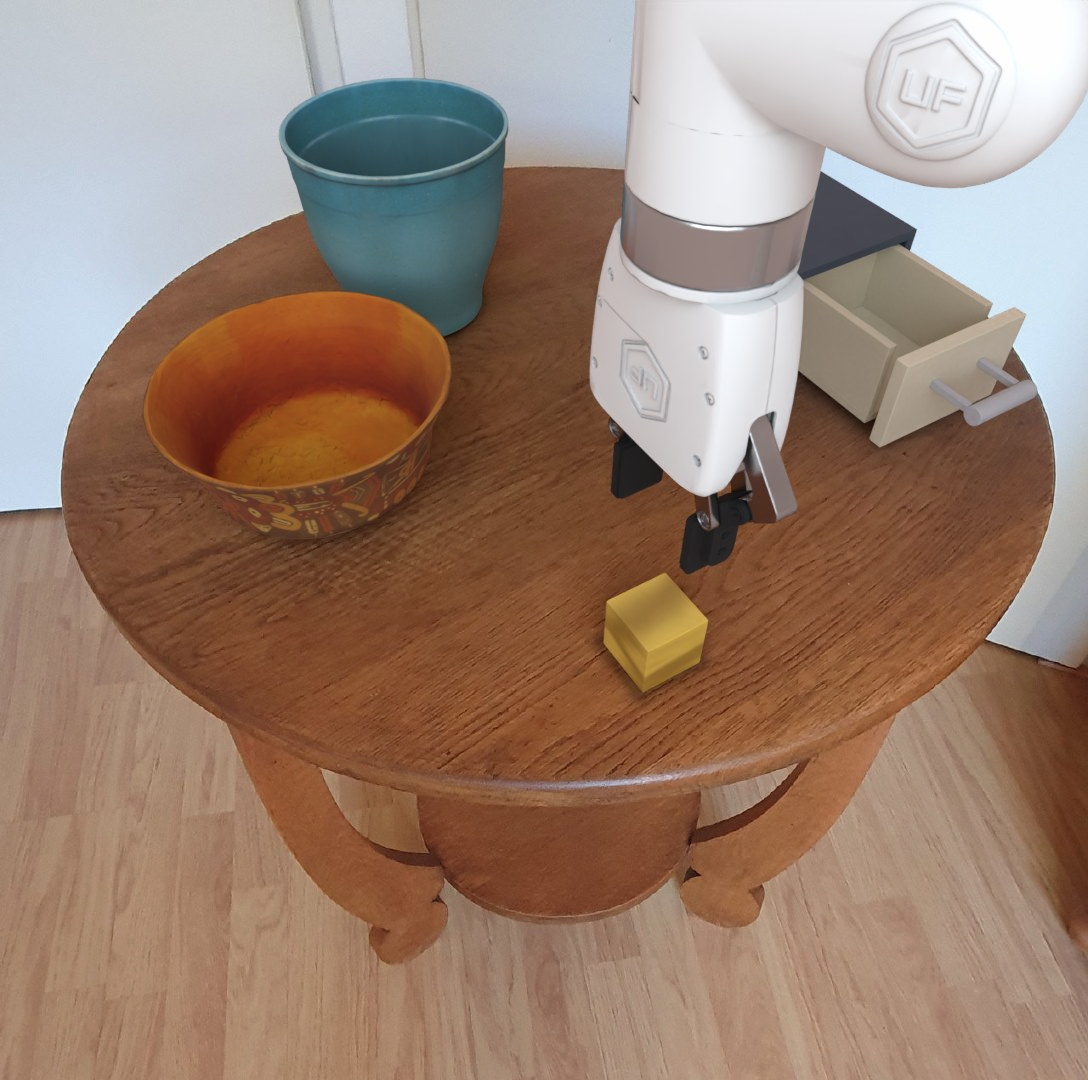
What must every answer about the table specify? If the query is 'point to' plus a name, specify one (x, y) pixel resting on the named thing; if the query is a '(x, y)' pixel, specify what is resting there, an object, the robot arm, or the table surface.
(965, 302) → the drawer
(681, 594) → the block
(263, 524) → the bowl
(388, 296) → the flower pot
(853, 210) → the cabinet
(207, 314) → the table surface
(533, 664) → the table surface
